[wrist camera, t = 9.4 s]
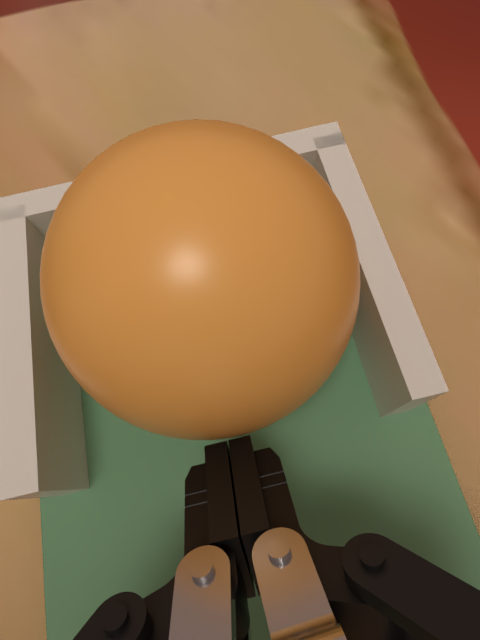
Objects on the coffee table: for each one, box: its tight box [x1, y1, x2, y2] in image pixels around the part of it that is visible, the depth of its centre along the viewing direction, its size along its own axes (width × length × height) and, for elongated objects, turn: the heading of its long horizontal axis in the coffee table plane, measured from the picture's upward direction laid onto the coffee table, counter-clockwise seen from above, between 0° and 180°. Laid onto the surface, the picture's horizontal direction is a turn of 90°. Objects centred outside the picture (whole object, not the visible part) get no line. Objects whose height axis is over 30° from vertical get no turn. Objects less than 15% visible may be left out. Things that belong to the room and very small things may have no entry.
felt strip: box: [40, 334, 480, 640], centre depth 17 cm, size 26×16×1 cm, turn 13°
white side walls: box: [0, 121, 449, 501], centre depth 17 cm, size 12×14×4 cm
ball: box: [40, 119, 361, 440], centre depth 14 cm, size 10×10×10 cm
